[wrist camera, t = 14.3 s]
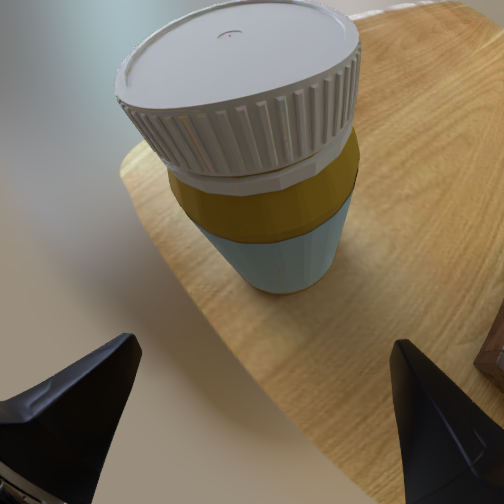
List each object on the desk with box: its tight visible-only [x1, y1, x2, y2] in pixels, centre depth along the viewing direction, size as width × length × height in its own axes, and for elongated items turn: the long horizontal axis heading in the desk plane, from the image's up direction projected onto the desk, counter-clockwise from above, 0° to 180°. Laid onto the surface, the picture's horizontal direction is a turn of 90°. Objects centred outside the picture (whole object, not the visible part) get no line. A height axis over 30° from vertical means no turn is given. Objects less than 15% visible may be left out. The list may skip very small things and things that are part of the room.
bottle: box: [114, 0, 361, 295], centre depth 12 cm, size 7×7×15 cm
